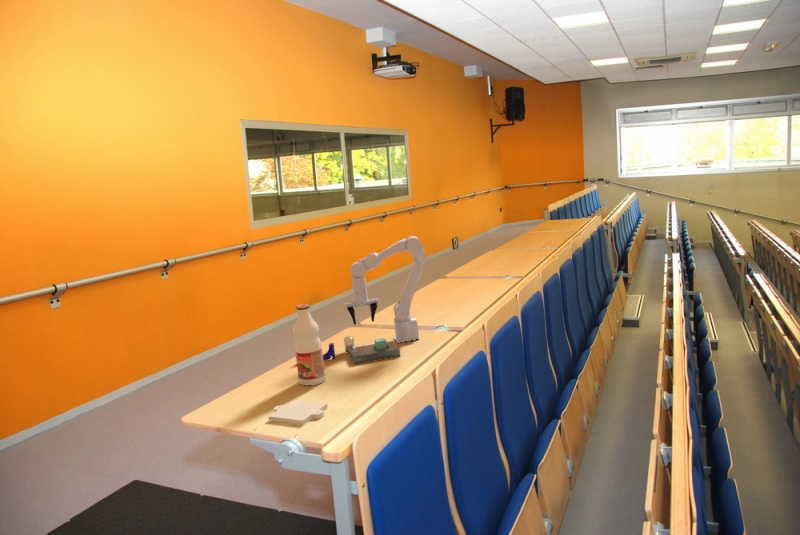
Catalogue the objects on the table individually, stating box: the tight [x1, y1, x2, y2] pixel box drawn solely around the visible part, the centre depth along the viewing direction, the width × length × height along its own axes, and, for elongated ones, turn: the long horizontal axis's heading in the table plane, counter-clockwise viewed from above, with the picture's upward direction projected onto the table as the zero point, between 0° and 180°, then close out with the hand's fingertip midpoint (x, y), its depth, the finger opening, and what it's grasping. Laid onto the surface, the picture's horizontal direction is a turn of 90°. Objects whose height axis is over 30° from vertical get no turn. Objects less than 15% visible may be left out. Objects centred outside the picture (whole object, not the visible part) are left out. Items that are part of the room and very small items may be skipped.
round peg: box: [343, 335, 356, 354], centre depth 247 cm, size 4×4×6 cm
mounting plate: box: [268, 399, 329, 426], centre depth 188 cm, size 18×13×2 cm
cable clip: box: [322, 342, 336, 361], centre depth 241 cm, size 12×4×6 cm, turn 89°
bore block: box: [348, 340, 401, 365], centre depth 239 cm, size 18×12×3 cm, turn 103°
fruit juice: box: [292, 303, 326, 387], centre depth 215 cm, size 9×9×28 cm
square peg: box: [374, 337, 388, 350], centre depth 239 cm, size 4×4×6 cm
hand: (363, 322), depth 255 cm, fingers open, 7 cm apart
